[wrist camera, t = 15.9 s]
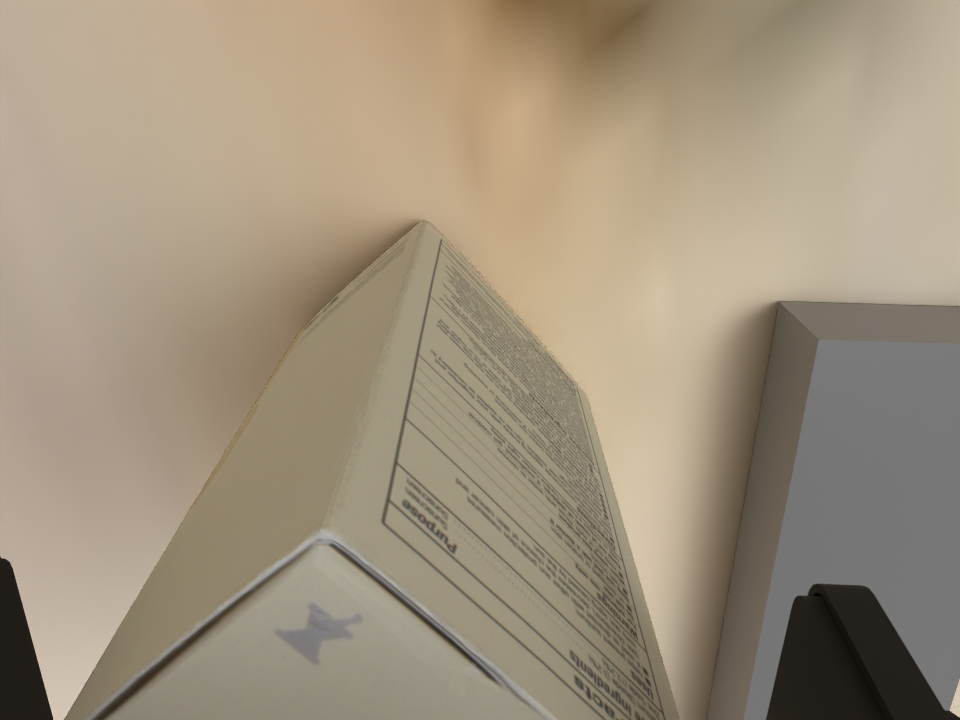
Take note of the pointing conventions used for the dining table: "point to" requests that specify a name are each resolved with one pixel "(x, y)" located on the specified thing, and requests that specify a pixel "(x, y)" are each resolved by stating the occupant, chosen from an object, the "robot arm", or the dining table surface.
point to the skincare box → (398, 533)
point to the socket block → (850, 490)
